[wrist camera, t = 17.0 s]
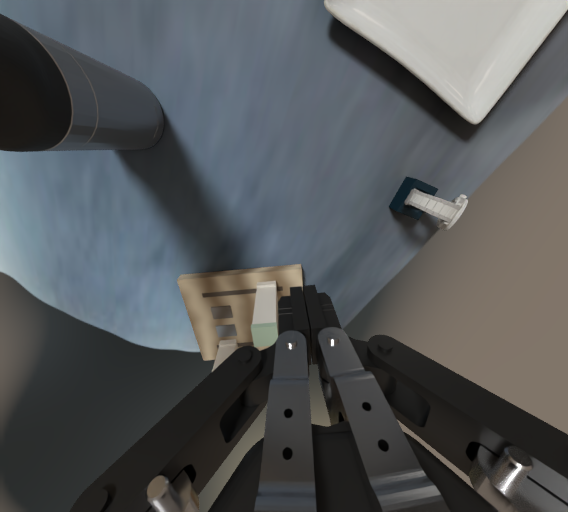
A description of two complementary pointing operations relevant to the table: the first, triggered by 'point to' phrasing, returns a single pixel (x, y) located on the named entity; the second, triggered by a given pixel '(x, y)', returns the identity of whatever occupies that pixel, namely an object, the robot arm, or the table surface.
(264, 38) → the table surface
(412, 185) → the watch
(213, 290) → the switch board
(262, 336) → the tall beige block
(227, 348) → the far switch
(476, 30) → the square plate
